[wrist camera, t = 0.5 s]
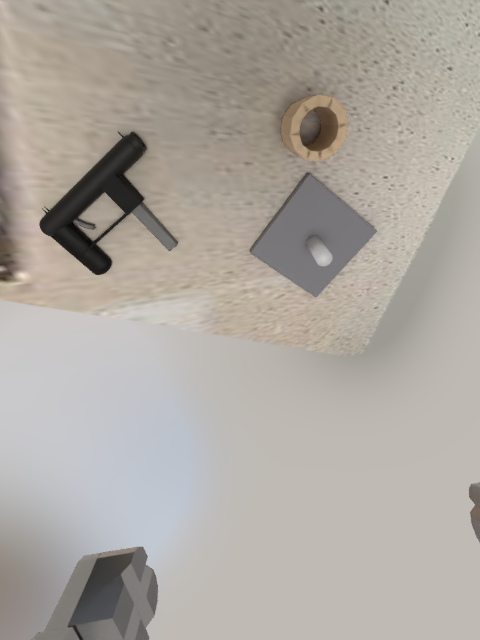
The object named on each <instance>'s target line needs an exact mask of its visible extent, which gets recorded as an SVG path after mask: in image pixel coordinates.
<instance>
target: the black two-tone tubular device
mask: <svg viewBox="0 0 480 640" xmlns="http://www.w3.org/2000/svg"><path fill="white" fill-rule="evenodd" d="M118 133H119V131H118ZM119 134H120V133H119ZM120 135H121V134H120ZM121 136H122V139H121V140H120V141H119V142H118V143H117V144H116V145H115V146H114V147H113V148H112V149H111V150H110V151H109V152H108V153H107V154H106V155H105V156H104V157H103V158H102V159H101V160H100V161H99V162H98V163H97V164H96V165H95V166H94V167H93V168H92V169H91V170H90V171H89V172H88V173H87V174H86V175H85V176H84V177H83V178H82V179H81V180H80V181H79V182H78V183H77V184H76V185H75V186H74V187H73V188H72V189H71V190H70V191H69V192H68V193H67V194H66V195H65V196H64V197H63V198H62V199H61V200H60V201H59V202H58V203H57V204H56V205H55V206H54V207H53V208H52V209H51V210H50V211H49V210H48V209H47V208H46V207H45V208H46V209H47V210H48V211H49V212H48V213H47V212H46V211H45V210H44V211H45V212H46V215H45V216H44V217H43V218H42V219H41V221H40V228H41V230H42V232H43V233H45V234H46V235H48V236H51V237H52V238H53V239H54V240H56V241H57V242H58V243H59V244H60V245H61V246H62V247H64V248H65V249H66V250H67V251H68V252H69V253H71V254H72V255H73V256H74V257H75V258H76V259H78V260H79V261H80V262H81V263H82V264H83V265H85V266H86V267H87V268H88V269H89V270H90V271H92V272H93V273H94V274H96V275H101V274H104V273H106V272H107V271H108V270H109V269H110V267H111V260H110V259H109V258H108V257H107V256H106V255H105V254H104V253H103V252H102V251H101V250H100V249H99V248H97V247H96V246H95V244H96V243H97V242H98V241H99V240H100V239H101V238H102V237H104V236H105V235H106V234H107V233H108V232H109V231H110V230H111V229H113V228H114V227H115V226H116V225H117V224H118V223H119V222H120V221H122V220H123V219H124V218H125V217H126V216H127V215H128V214H130V213H131V212H132V213H133V214H134V215H135V216H136V217H137V218H138V219H139V220H140V221H141V222H142V223H143V224H144V225H145V226H146V227H147V228H148V230H149V231H150V232H151V233H152V234H153V235H154V236H155V237H156V238H157V239H158V240H159V241H160V242H161V243H162V244H163V245H164V246H165V247H166V248H167V249H168V250H169V251H171V250H172V249H173V248H174V247H176V246H177V244H178V242H177V241H176V240H175V238H174V237H173V236H172V235H171V234H170V233H169V232H168V230H167V229H166V228H165V227H164V226H163V225H162V224H161V223H160V221H159V220H158V219H157V218H156V217H155V216H154V215H153V214H152V212H151V211H150V210H149V209H148V208H147V207H146V206H145V205H144V204H143V203H142V201H143V200H144V198H143V197H142V195H141V194H140V193H139V192H138V191H137V190H136V189H135V187H134V186H133V185H132V184H131V183H130V182H129V181H128V179H127V178H126V177H125V176H124V175H123V173H124V172H125V171H127V170H128V169H129V168H130V167H131V166H132V165H133V164H134V163H135V162H136V161H137V160H138V159H139V158H140V157H141V156H142V154H143V152H144V151H145V150H146V146H145V144H144V143H143V142H142V140H141V139H140V138H139V137H138V136H137V135H136V134H135V133H134V132H131V133H130V134H129V135H127V136H123V135H121ZM104 191H105V193H106V194H107V195H108V196H109V197H110V198H111V199H112V200H113V201H114V202H115V203H116V204H117V205H118V206H119V207H120V208H121V209H122V210H123V211H124V212H125V214H124V215H123V216H122V217H121V218H120V219H119V220H117V221H116V222H115V223H114V224H113V225H112V226H111V227H110V228H108V229H107V230H106V231H105V232H104V233H103V234H102V235H101V236H100V237H98V238H97V239H96V240H95V241H94V242H93V243H92V242H91V241H90V240H89V239H88V238H86V237H85V236H84V235H83V234H82V233H81V232H80V231H79V230H78V229H77V228H75V227H74V226H73V225H72V224H71V223H72V222H75V223H76V224H78V225H80V226H82V227H84V228H88V229H92V230H94V228H95V226H94V225H89V224H86V223H83V222H81V221H79V220H77V219H76V218H77V217H78V216H79V215H80V214H81V213H82V212H83V211H84V210H85V209H87V208H88V207H89V206H90V205H91V204H92V203H93V202H94V201H95V200H96V199H97V198H98V197H99V196H100V195H101V194H102V193H103V192H104Z"/></svg>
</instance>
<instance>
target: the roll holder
mask: <svg viewBox="0 0 480 640" xmlns="http://www.w3.org/2000/svg"><path fill="white" fill-rule="evenodd" d="M376 232H377V230H376V229H374V228H373V227H372V226H371V225H370V224H369V223H367V222H366V221H365V220H364V219H363V218H361V217H360V216H359V215H358V214H357V213H355V212H354V211H353V210H352V209H351V208H349V207H348V206H347V205H346V204H345V203H343V202H342V201H341V200H340V199H339V198H337V197H336V196H335V195H334V194H333V193H331V192H330V191H329V190H328V189H327V188H325V187H324V186H323V185H322V184H321V183H319V182H318V181H317V180H316V179H315V178H313V177H312V176H311V175H310V174H309V173H307V174H306V175H305V177H304V178H303V179H302V181H301V182H300V183H299V185H298V186H297V187H296V189H295V190H294V191H293V193H292V194H291V195H290V197H289V198H288V199H287V201H286V202H285V203H284V205H283V206H282V207H281V209H280V210H279V211H278V213H277V214H276V215H275V217H274V218H273V219H272V221H271V222H270V223H269V225H268V226H267V227H266V229H265V230H264V231H263V233H262V234H261V235H260V237H259V238H258V240H257V241H256V242H255V244H254V245H253V246H252V248H251V249H250V253H251V254H252V255H254V256H255V257H257V258H258V259H260V260H261V261H263V262H264V263H266V264H267V265H269V266H270V267H272V268H273V269H274V270H276V271H277V272H279V273H280V274H282V275H283V276H285V277H286V278H288V279H289V280H291V281H292V282H294V283H295V284H297V285H298V286H300V287H301V288H303V289H304V290H306V291H307V292H309V293H310V294H312V295H313V296H314V297H317V296H318V295H319V294H320V293H321V292H322V291H323V289H324V288H325V287H326V286H327V285H328V284H329V283H330V282H331V281H332V280H333V279H334V278H335V276H336V275H337V274H338V273H339V272H340V271H341V270H342V269H343V268H344V267H345V266H346V265H347V263H348V262H349V261H350V260H351V259H352V258H353V257H354V256H355V255H356V254H357V253H358V252H359V251H360V249H361V248H362V247H363V246H364V245H365V244H366V243H367V242H368V241H369V240H370V239H371V238H372V236H373V235H374V234H375V233H376Z"/></svg>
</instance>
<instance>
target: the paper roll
mask: <svg viewBox="0 0 480 640" xmlns="http://www.w3.org/2000/svg"><path fill="white" fill-rule="evenodd" d="M312 109H313V110H315V111H316V112H317V113H318V114H319V116H320V119H321V123H322V126H321V131H320V135H319V136H318V138H317V139H316V140H315V142H314V143H312V144H310V145H308V146H304V145H303V144H302V142H301V138H300V135H299V131H300V124H301V121H302V119H303V118H304V116H305V115H306V114H307V112H308V111H310V110H312ZM347 127H348V121H347V117H346V112H345V108H344V107H343V106H342V105H341V104H340V103H339V102H338V101H337V100H336V99H335V98H334V97H331V96H323V95H315V96H311V97H307V98H303V99H301V100H299V101H297V102H295V103H293V104H291V105H290V107H289V108H288V110H287V111H286V113H285V114H284V116H283V117H282V124H281V132H280V133H281V136H282V139H283V142H284V144H285V146H286V147H287V148H288V149H290V150H291V151H292V152H293V153H294V154H296V155H298V156H300V157H301V158H303V159H305V160H310V161H322V160H324V159H326V158H328V157H330V156H332V155H334V154H335V153H336V151H337V150H338V149H339V148H340V146H341V145H342V144H343V142H344V141H345V136H346V132H347Z"/></svg>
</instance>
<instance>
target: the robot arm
mask: <svg viewBox="0 0 480 640" xmlns="http://www.w3.org/2000/svg"><path fill="white" fill-rule="evenodd" d="M469 497H470V499H471V500H472V501H473V502H474V504H475V506H474V508H473V509H472V511H471V512H470V514H471V523H472V526H473V529H474V531H475V534H476V536H477V538H478V540H479V542H480V483H475V484H471V486H470V488H469ZM147 557H148V556H147V554H146V553H145V550H144V548H143V547H134V548H128V549H121V550H116V551H109V552H103V553H98V554H91V555H85V556H83V558H82V559H81V560H80V561H79V562H78V563H77V565H76V567H75V569H74V571H73V573H72V575H71V577H70V580H69V582H68V584H67V586H66V588H65V590H64V592H63V594H62V596H61V598H60V600H59V602H58V604H57V606H56V608H55V610H54V612H53V614H52V616H51V618H50V620H49V622H48V624H47V626H46V628H45V631H44V632H39V633H37V634H36V635H35V636H34V637H33V638H32V640H149V636H148V633H147V630H146V627H147V625H148V624H149V622H150V621H151V620H152V618H153V617H154V615H155V610H156V605H157V596H158V585H157V580H156V575H155V573H154V570H153V569H152V568H150V567H149V566H147V565H146V560H147Z"/></svg>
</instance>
